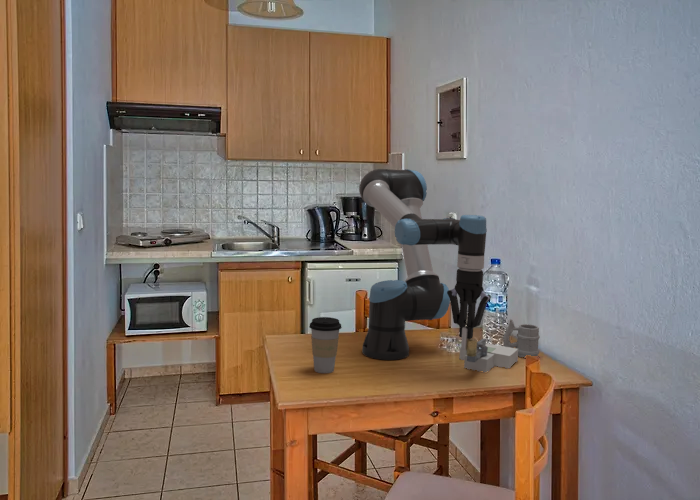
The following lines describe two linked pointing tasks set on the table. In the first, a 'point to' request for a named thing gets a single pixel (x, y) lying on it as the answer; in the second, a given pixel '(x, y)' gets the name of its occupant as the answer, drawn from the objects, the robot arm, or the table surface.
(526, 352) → the mug
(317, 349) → the coffee cup
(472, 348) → the latch arm
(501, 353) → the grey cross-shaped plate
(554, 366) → the table surface
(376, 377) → the table surface
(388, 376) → the table surface
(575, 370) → the table surface
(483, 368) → the block
